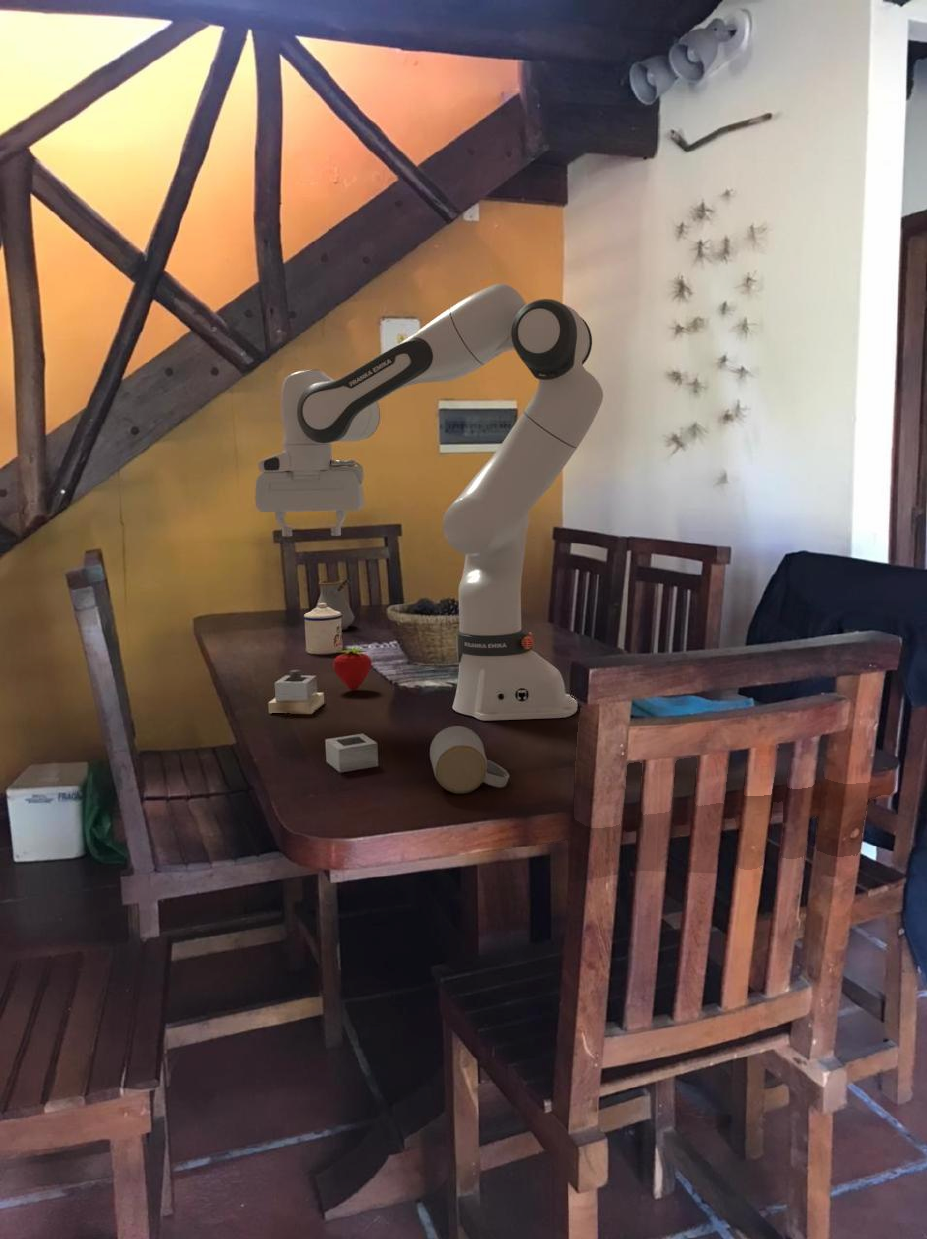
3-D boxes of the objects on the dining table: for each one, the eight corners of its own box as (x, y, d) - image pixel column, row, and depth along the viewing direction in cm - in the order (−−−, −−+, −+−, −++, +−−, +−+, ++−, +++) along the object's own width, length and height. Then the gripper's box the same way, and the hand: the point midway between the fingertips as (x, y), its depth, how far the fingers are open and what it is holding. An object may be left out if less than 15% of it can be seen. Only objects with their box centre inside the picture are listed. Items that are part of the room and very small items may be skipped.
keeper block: (324, 703, 182) (322, 666, 181) (311, 714, 174) (309, 676, 173) (283, 702, 183) (281, 666, 182) (268, 713, 175) (266, 675, 174)
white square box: (363, 755, 149) (362, 733, 148) (378, 766, 143) (377, 743, 143) (326, 761, 146) (325, 739, 145) (339, 772, 141) (338, 749, 140)
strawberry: (333, 688, 194) (331, 639, 192) (371, 686, 195) (369, 637, 193) (334, 695, 188) (332, 644, 186) (373, 692, 189) (371, 642, 187)
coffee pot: (308, 627, 268) (305, 573, 265) (348, 623, 272) (345, 570, 269) (327, 639, 248) (324, 581, 246) (370, 635, 252) (367, 578, 250)
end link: (317, 694, 181) (316, 675, 180) (307, 702, 175) (306, 683, 174) (286, 693, 182) (285, 675, 181) (275, 701, 176) (274, 682, 175)
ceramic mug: (435, 798, 129) (434, 742, 128) (430, 778, 137) (429, 726, 136) (513, 794, 130) (513, 739, 129) (504, 775, 138) (503, 723, 137)
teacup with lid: (342, 654, 228) (340, 605, 227) (303, 655, 228) (301, 606, 226) (345, 644, 240) (342, 598, 238) (308, 646, 240) (305, 599, 238)
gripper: (366, 459, 180) (369, 533, 183) (261, 462, 184) (266, 535, 186) (358, 459, 174) (361, 536, 177) (249, 462, 177) (254, 538, 180)
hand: (311, 535), depth 181 cm, fingers open, 8 cm apart
